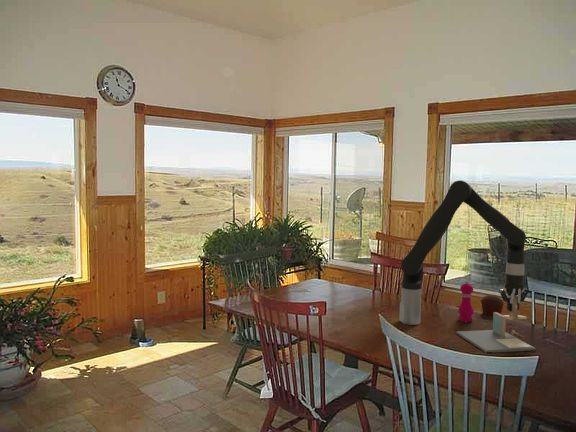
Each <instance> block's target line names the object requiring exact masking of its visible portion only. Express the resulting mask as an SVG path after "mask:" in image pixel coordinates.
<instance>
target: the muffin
mask: <svg viewBox="0 0 576 432" xmlns="http://www.w3.org/2000/svg"><path fill="white" fill-rule="evenodd" d="M504 302H505V301H503V299H502V297H501V296H498V295H496V294H486V295H484V296H483V297H482V298H481V300H480V303H481V310H482V314H483V315H485V316H487V317H492V318H493V312H497V313H499V314H501V315H502V312H503V306H504V305H505V303H504Z"/></svg>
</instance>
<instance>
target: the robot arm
mask: <svg viewBox="0 0 576 432" xmlns="http://www.w3.org/2000/svg"><path fill="white" fill-rule="evenodd" d="M464 203H465V204H466V205H467V206H469V207H470V208H471V209H472V210H474V212H476V213H477V214H478V215H479V216H480V218H482V220H484V221H485V222H486V223H487V224H488V225H490V226H491V227H492V228H493V229H495V230H496V232H499V233H500V235H502V236H503V237H504V238H505V239H506V240H507V254H506V266H505V278H504V279H505V280H504V282H505V285H504V288H499V290H498V291H499V294H500V297H501V299H502V301H503V302H506V310H507V311H508V312H509V311H510V312H511V311H512V301H513V298H514V295H516V296H517V311H518V312H519V310H520V303H522V302H524V301H525V299H526V297H527V296H528V294H529V292H530V290H529V289H527V288H525V287H524V283H525V271H526V270H525V269H526V268H525V257H526V255H525V243H526V239H527V236H526V233H525V231H524V230H523V229H522V228H519V227H518V226H517V225H516V224H514V223H513V222H511V221H510V219H509V218H508V217H506V216H505V215H504V214H503V213H502V212H501V211H499V210H498V209H497V208H496V207H494V206H492V205H491V204H490V203H489V202H487V201H486V200H484V198H483V197H481V196H480V194H478V193H477V192H476V191H475V190H474V188H473V187H472V186H471V184H470V183H469V182H467V181H466V180H463V179H459V180H456V181H453V182H452V184H451V185H450V186H449V188H448V191H447V193H446V195H445V196H444V198H443V201H442V202H441V203H440V205H439V206H438V208H437V209H436V210H434V213H433V214H432V215H431V216H430V218H429V219H428V221H427V222H426V224H425V226H424V227H423V229H422V230H421V233H420V234H419V236H418V238H417V240H416V242H415V244H414V245H413V247H412V248H411V250H410V251H409V252H408V253H407V255H406V256H405V257H404V258H403V259H402V261H401V265H400V266H401V267H400V268H401V271H402V272H403V277H402V281H401V301H400V302H399V316H398V317H399V319H398V321H399V322H401V323H402V324H403V325H408V326H409V325H410V326H414V325H415V326H416V325H420V324H421V307H422V304H421V303H422V283H423V277H424V276H423V274H424V273H423V272H424V271H423V270H424V262H425V259H426V258H427V256H428V255H429V253H430V252H431V251H432V249H434V248H435V246H436V245H437V244H438V243H439V242H440V240H441V239H442V238H443V236H444V234H445V233H446V232H447V230H448V228H449V226H450V225H451V223H452V220H453V218H454V216H455V215H456V214H455V213H456V212H457V211H458V209H459V208H460V206H461V205H462V204H464ZM510 295H511V296H510Z"/></svg>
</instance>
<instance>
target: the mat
mask: <svg viewBox="0 0 576 432" xmlns="http://www.w3.org/2000/svg"><path fill="white" fill-rule="evenodd" d="M456 335H458V336H459V337H461V338H463V339H464V340H466V341H467V342H469V343H470V344H472V345H473V346H475V347H476V348H477V349H479V350H481V351H483V352H484V353H486V354H488V353H487V352H492V353H504V352H505V353H506V352H507V353H508V352H525V351H528V352H530V351H536V347H534V346H533V345H531V344H529V343H527V342H525V341H524V340H522V339H520V338H518V337H517V336H514V335H512V334H510V333H508V332H506V331H505V337H501V336H499V335H497V334H496V333H494V332H493V329H485V330H460V331H459V330H458V331H456ZM514 338H517V339H519V340H521V341H523V342H524V343H526V344H528V345H530V346H532V347H525V348H508V347H506V346H505V345H503V344H501V343H500V342H498V341H496V340H495V339H514Z"/></svg>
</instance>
